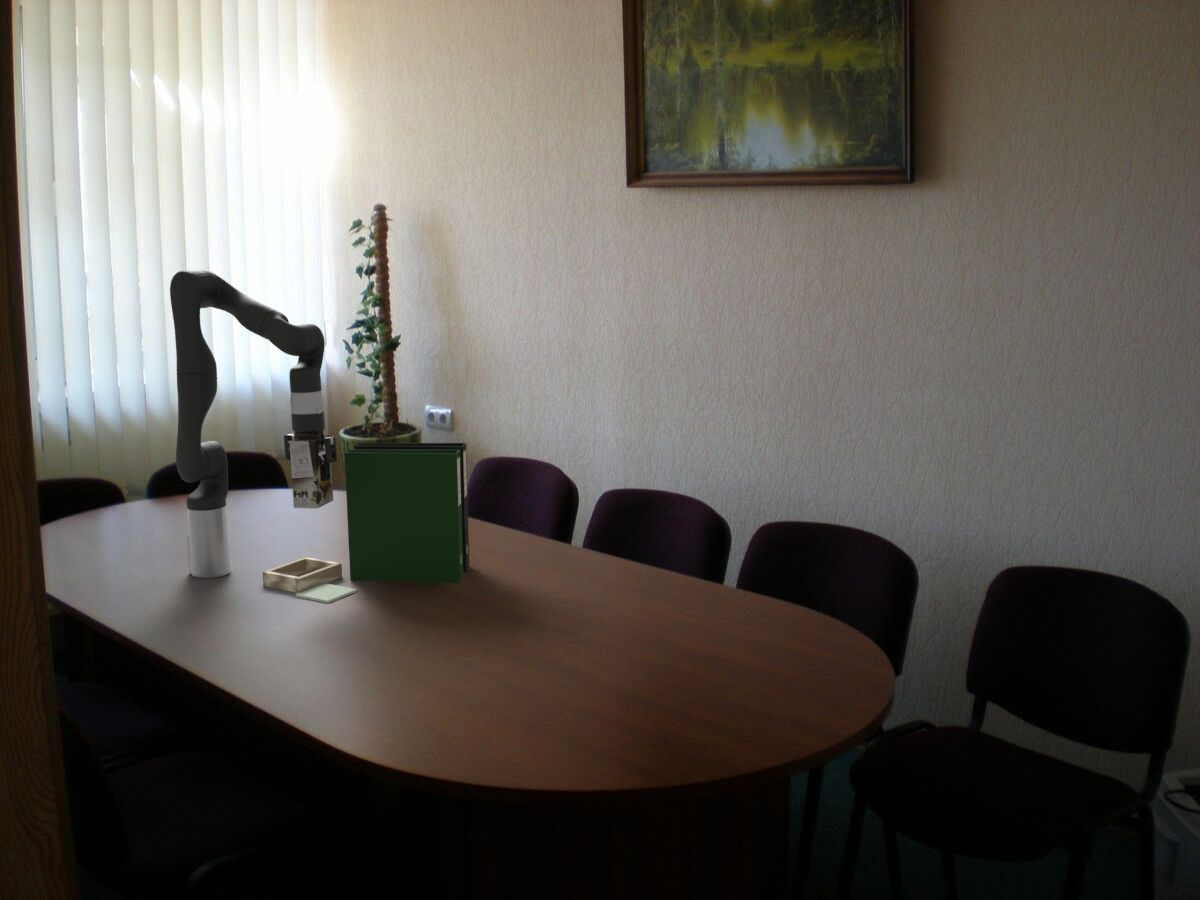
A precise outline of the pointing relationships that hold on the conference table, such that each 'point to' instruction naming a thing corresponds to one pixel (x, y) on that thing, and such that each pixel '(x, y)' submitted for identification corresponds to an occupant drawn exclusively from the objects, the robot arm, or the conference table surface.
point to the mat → (326, 593)
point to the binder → (407, 512)
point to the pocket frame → (288, 573)
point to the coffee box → (308, 474)
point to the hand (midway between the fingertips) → (312, 479)
